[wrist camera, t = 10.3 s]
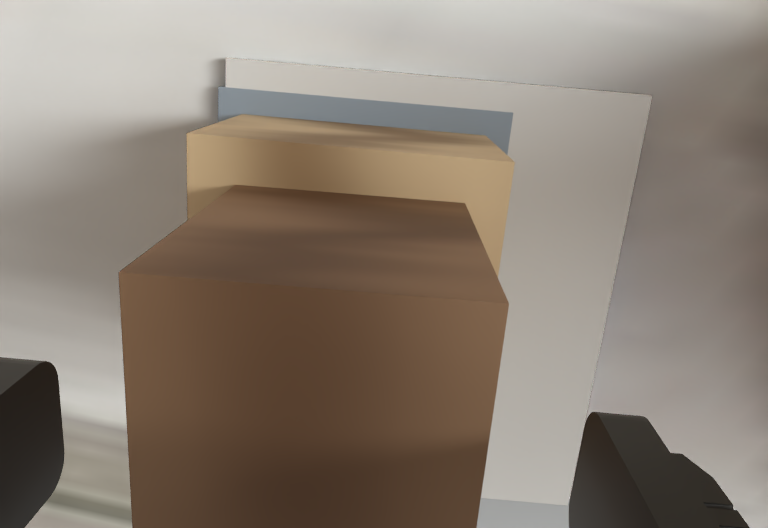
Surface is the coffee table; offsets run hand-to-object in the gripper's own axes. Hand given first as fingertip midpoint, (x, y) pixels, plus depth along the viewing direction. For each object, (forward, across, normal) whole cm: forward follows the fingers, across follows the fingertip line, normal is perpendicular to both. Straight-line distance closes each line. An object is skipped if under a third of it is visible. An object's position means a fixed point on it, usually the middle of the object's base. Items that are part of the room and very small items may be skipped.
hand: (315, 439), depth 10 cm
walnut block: (+5, 0, 0) cm, 5 cm away
